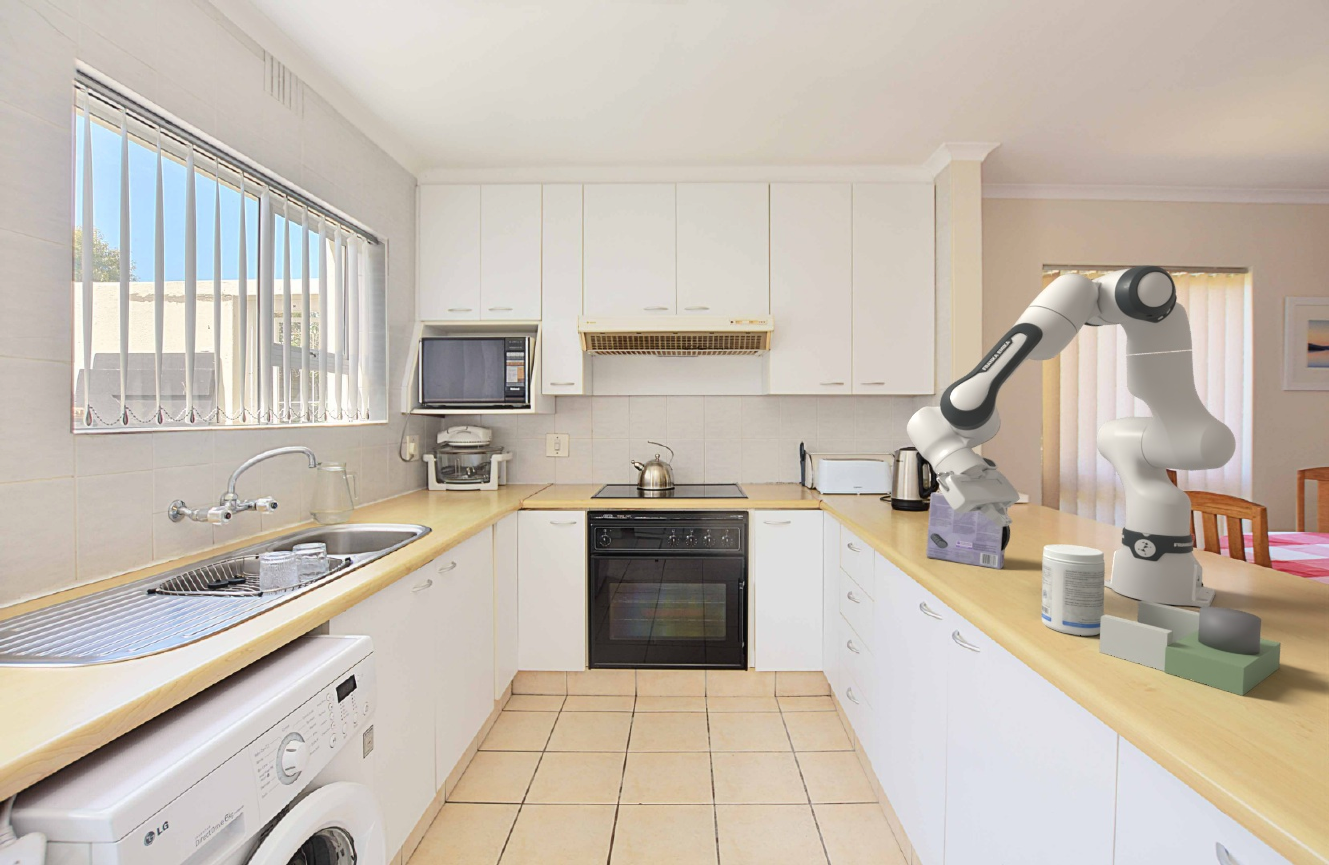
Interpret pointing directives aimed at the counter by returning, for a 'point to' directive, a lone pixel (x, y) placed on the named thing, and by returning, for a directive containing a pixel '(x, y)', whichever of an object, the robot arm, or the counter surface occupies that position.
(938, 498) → the cake pan box
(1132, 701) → the counter surface
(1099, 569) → the supplement tub
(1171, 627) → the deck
